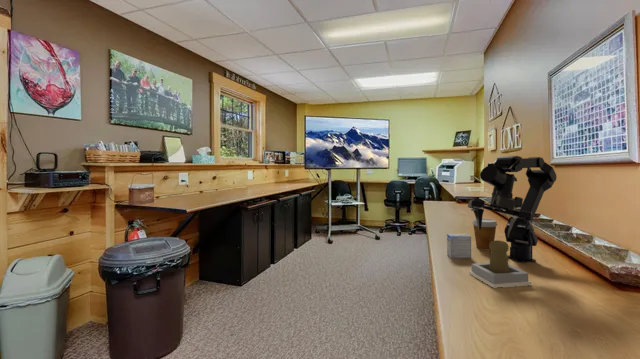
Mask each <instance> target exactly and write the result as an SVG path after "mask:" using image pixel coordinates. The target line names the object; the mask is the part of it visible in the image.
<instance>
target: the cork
mask: <svg viewBox="0 0 640 359" xmlns="http://www.w3.org/2000/svg"><path fill="white" fill-rule="evenodd" d="M489 247H490V250H489V251H491V252H490V259H489V263H490V264H489V271H491V272H493V273H495V274H498V273H510V272H509V266H508V264H509V260H508V255H507V254H508V252H509V250H510V246H509V244H508V242H507V241H504V240H494V241H491V242H490V245H489Z"/></svg>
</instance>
